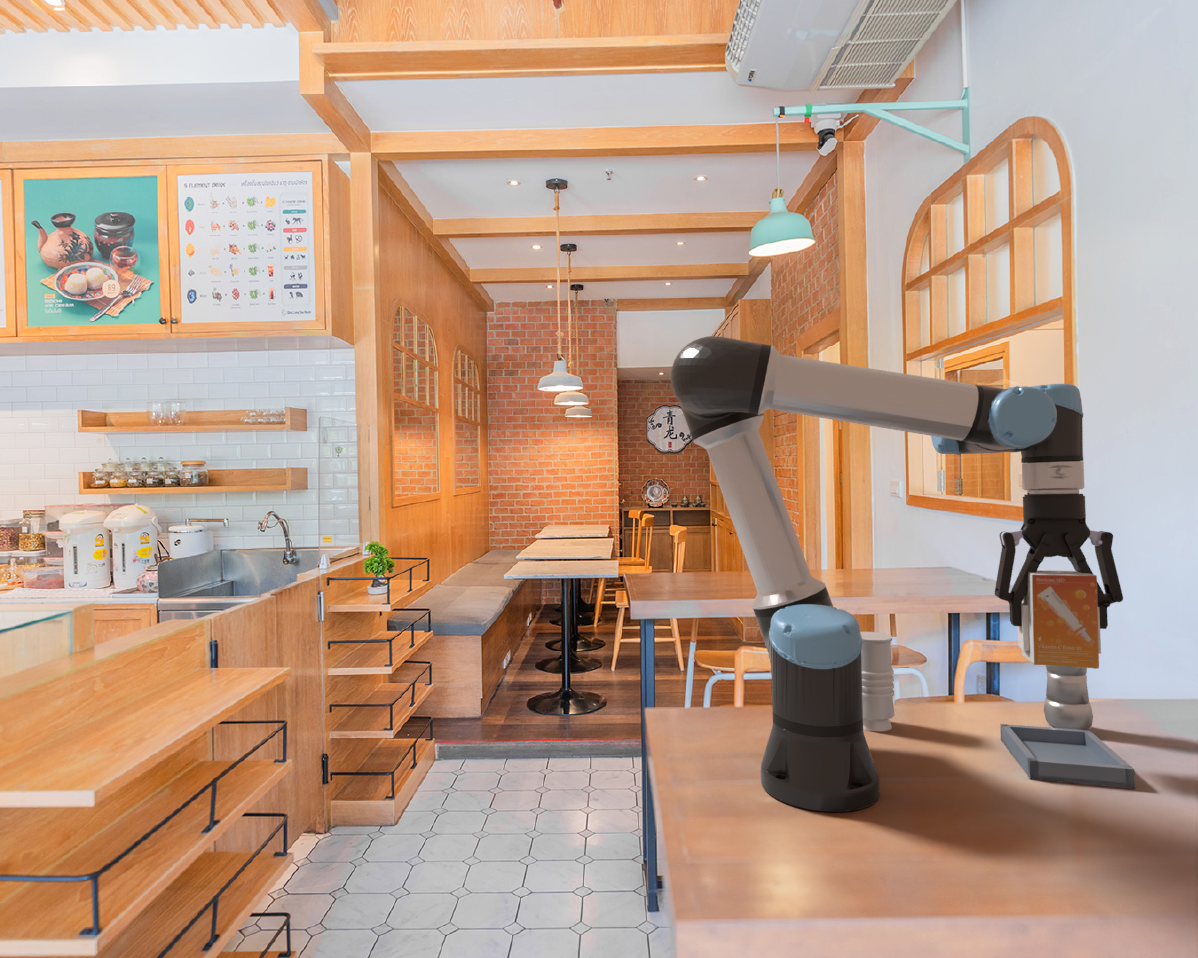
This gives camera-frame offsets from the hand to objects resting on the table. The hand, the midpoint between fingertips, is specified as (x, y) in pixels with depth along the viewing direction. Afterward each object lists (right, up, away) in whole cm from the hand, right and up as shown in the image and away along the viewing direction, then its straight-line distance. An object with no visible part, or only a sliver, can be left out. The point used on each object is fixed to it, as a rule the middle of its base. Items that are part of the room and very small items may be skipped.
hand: (1058, 649), depth 99 cm
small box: (0, -2, 0) cm, 2 cm away
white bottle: (-20, -17, +16) cm, 31 cm away
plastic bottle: (+10, -16, +12) cm, 23 cm away
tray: (0, -16, 0) cm, 16 cm away
